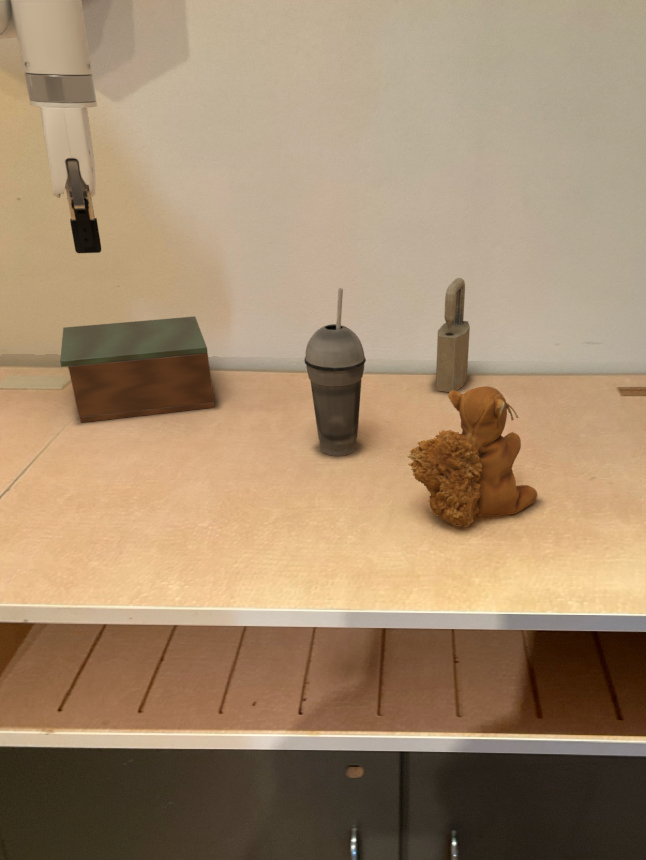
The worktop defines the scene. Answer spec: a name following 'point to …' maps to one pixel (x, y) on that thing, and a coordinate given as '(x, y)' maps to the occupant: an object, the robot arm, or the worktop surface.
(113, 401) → the chest
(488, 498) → the stuffed squirrel
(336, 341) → the beverage cup
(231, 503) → the worktop surface
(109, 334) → the lid
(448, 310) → the padlock
